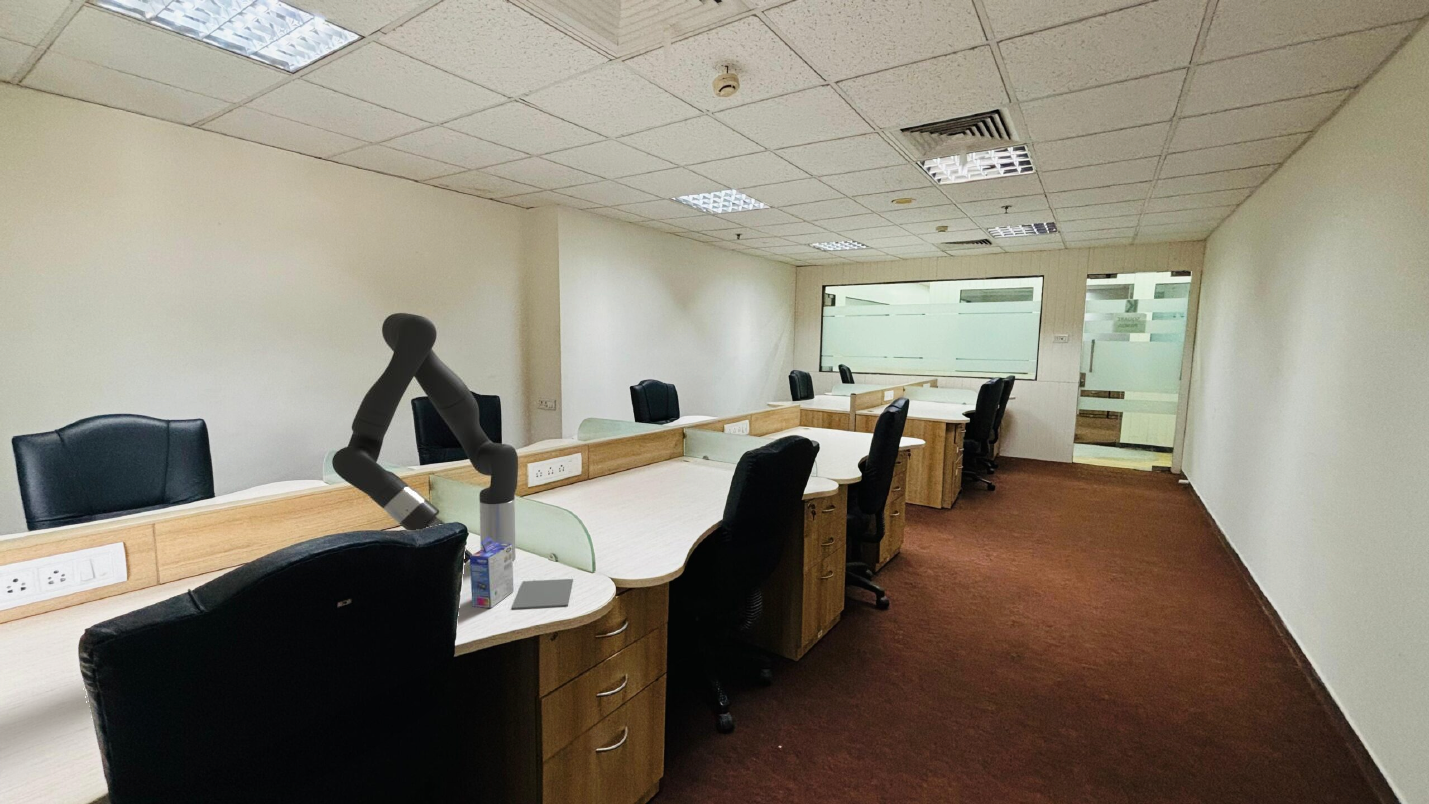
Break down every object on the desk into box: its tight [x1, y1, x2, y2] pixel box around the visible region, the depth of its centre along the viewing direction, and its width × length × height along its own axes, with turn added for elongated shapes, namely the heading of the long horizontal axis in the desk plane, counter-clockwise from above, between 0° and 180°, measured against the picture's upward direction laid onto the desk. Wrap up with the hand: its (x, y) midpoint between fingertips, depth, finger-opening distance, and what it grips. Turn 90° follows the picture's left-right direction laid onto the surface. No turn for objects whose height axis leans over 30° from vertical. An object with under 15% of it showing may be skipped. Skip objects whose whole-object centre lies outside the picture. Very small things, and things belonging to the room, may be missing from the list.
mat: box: [511, 578, 574, 610], centre depth 137 cm, size 15×12×1 cm
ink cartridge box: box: [469, 537, 514, 609], centre depth 133 cm, size 10×6×14 cm, turn 168°
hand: (469, 559), depth 132 cm, fingers closed
